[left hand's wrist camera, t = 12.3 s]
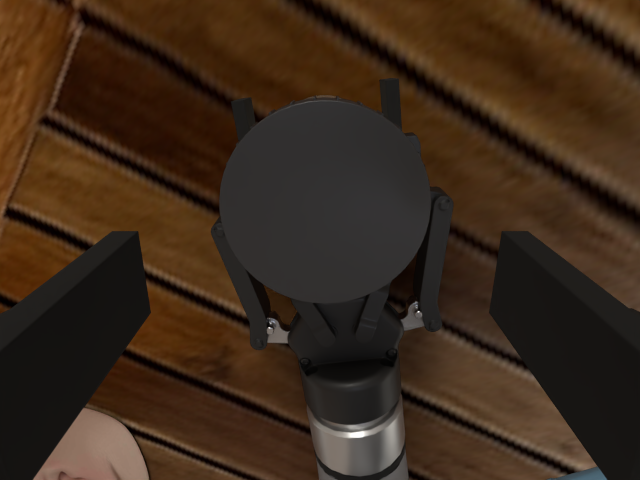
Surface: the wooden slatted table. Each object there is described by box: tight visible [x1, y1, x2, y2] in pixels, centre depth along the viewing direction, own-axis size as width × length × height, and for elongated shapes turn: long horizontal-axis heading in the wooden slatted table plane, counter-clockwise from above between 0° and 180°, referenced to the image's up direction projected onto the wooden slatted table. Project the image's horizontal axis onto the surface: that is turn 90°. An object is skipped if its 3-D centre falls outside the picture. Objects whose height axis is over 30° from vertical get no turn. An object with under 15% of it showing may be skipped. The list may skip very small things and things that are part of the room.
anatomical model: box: [33, 408, 149, 480], centre depth 43 cm, size 13×4×12 cm
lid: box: [219, 96, 431, 304], centre depth 20 cm, size 9×9×2 cm
